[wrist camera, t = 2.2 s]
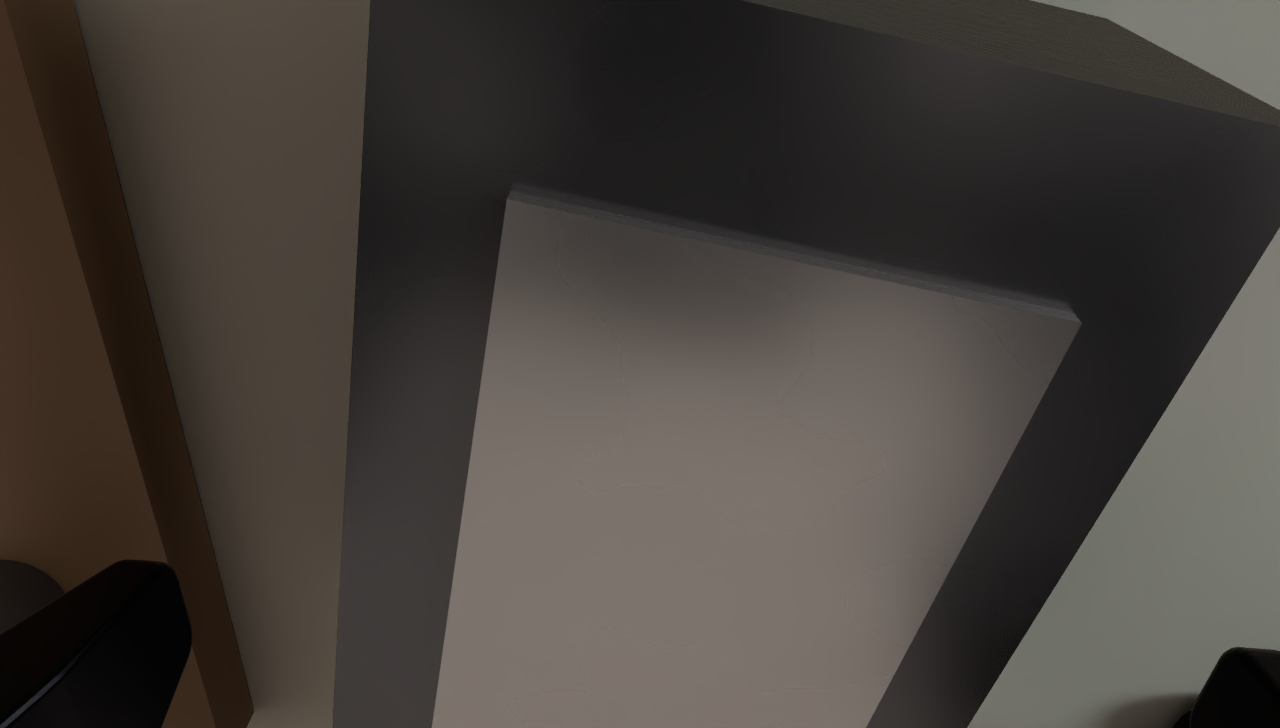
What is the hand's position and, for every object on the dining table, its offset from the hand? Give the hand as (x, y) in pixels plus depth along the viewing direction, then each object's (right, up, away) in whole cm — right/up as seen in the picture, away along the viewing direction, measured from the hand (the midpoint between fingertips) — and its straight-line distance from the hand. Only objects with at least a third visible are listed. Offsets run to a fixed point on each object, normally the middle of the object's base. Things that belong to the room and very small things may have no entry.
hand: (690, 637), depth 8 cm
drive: (0, +2, +4) cm, 4 cm away
